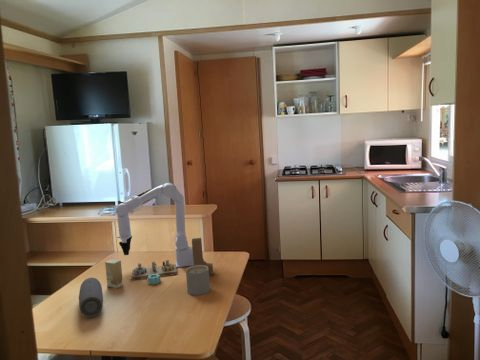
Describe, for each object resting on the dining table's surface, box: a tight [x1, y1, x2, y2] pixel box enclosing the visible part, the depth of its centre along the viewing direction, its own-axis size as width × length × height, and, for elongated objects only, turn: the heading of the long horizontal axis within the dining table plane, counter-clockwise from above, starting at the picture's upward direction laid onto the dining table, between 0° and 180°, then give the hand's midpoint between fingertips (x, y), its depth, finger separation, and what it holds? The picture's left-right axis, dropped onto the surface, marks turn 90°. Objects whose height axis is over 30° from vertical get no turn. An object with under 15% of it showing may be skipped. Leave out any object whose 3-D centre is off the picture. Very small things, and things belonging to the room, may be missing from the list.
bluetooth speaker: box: [78, 277, 104, 318], centre depth 166 cm, size 23×9×10 cm, turn 21°
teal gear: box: [146, 274, 161, 285], centre depth 191 cm, size 6×6×3 cm
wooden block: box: [191, 237, 214, 276], centre depth 195 cm, size 9×4×18 cm, turn 95°
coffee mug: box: [185, 265, 211, 296], centre depth 178 cm, size 13×10×10 cm
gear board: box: [130, 259, 178, 281], centre depth 202 cm, size 22×11×6 cm, turn 101°
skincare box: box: [104, 258, 124, 289], centre depth 189 cm, size 6×4×12 cm
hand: (127, 252), depth 207 cm, fingers open, 7 cm apart
